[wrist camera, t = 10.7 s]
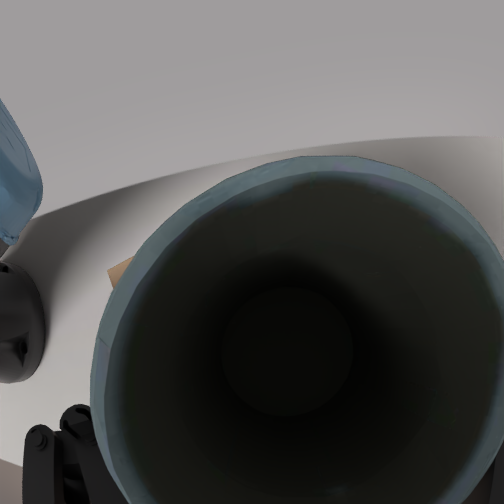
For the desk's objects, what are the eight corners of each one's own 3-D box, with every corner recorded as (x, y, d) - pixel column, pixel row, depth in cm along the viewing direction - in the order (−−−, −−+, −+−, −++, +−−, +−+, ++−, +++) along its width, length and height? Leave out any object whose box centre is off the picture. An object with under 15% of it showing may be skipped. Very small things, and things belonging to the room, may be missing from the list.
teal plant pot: (310, 233, 18) (383, 93, 6) (400, 366, 16) (555, 399, 4) (167, 327, 17) (17, 325, 5) (263, 461, 14) (265, 612, 3)
